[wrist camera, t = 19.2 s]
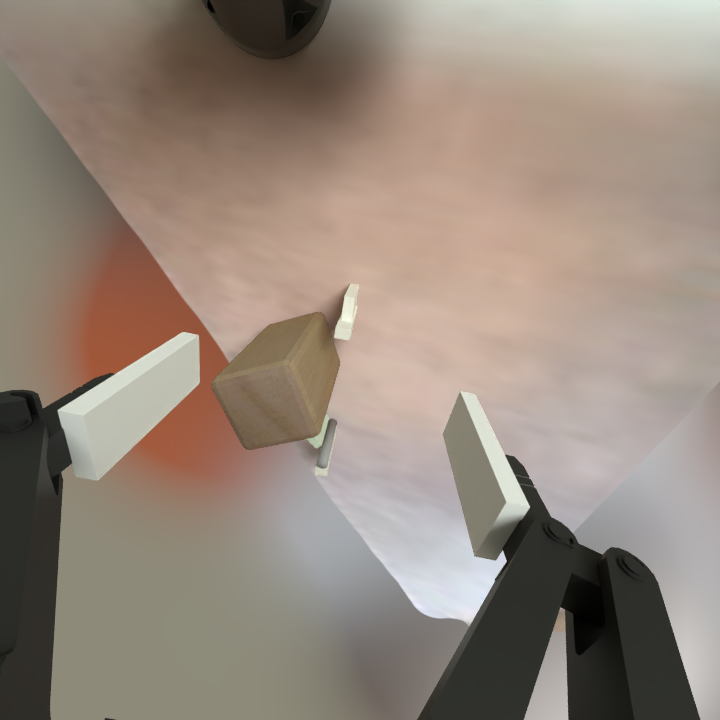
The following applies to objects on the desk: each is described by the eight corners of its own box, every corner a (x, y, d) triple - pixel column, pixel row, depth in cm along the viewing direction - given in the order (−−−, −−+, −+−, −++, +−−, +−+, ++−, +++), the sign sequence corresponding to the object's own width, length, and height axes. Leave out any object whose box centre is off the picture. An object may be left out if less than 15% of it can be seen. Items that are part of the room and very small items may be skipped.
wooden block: (288, 376, 56) (243, 454, 38) (266, 324, 52) (204, 383, 34) (342, 364, 54) (322, 439, 36) (323, 308, 50) (290, 362, 32)
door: (329, 416, 59) (321, 445, 51) (318, 424, 59) (309, 453, 52) (253, 340, 53) (233, 360, 46) (242, 350, 54) (221, 371, 47)
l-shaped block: (348, 283, 49) (339, 301, 39) (361, 285, 49) (355, 304, 39) (324, 442, 62) (312, 486, 52) (334, 444, 62) (324, 489, 52)
